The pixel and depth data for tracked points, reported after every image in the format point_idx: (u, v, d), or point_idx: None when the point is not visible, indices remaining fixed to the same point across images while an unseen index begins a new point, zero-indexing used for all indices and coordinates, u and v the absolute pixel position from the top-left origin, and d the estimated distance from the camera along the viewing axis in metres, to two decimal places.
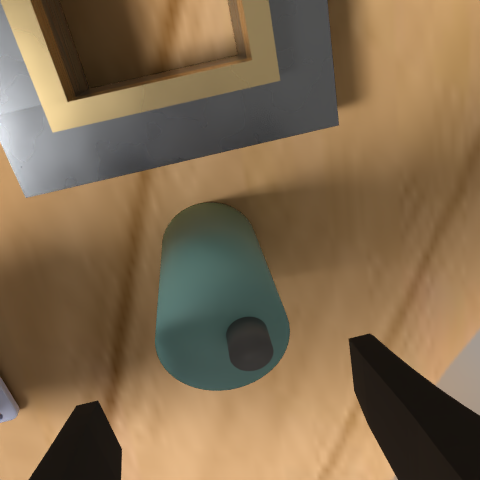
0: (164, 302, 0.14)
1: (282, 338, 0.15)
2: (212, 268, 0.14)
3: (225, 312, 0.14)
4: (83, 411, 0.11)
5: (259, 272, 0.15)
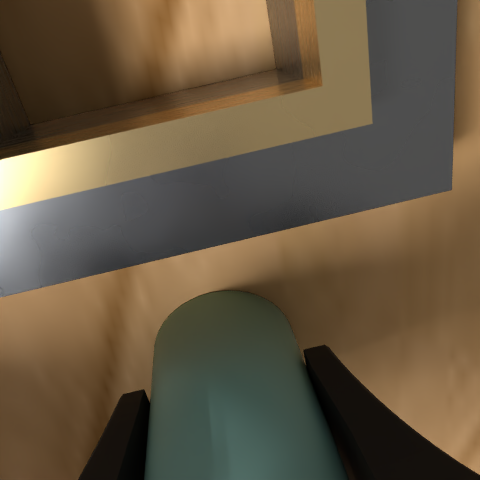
0: None
1: None
2: None
3: None
4: (131, 399, 0.11)
5: (325, 470, 0.08)
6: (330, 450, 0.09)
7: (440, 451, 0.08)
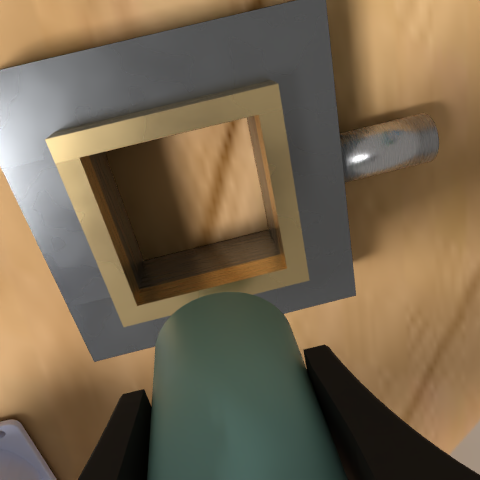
0: None
1: None
2: None
3: None
4: (131, 399, 0.11)
5: (326, 472, 0.08)
6: (329, 452, 0.09)
7: (440, 451, 0.08)
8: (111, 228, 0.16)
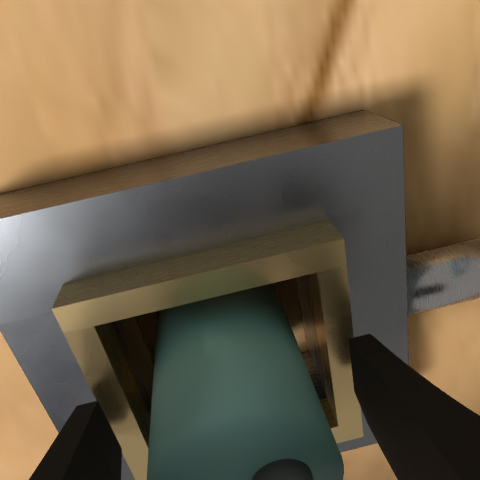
0: (159, 438, 0.09)
1: None
2: (231, 386, 0.09)
3: (251, 455, 0.09)
4: (83, 411, 0.11)
5: (297, 382, 0.10)
6: (302, 373, 0.11)
7: None
8: (129, 388, 0.13)
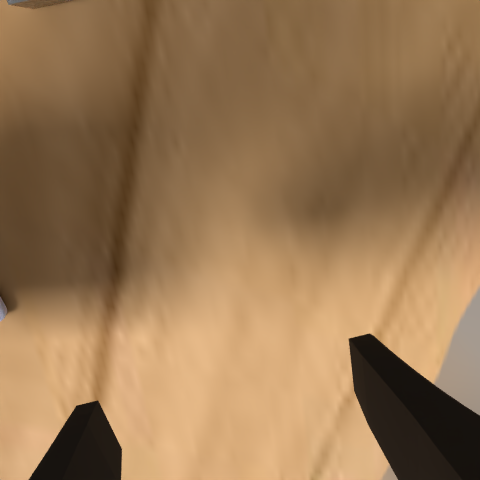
0: None
1: None
2: None
3: None
4: (83, 411, 0.11)
5: None
6: None
7: None
8: None
